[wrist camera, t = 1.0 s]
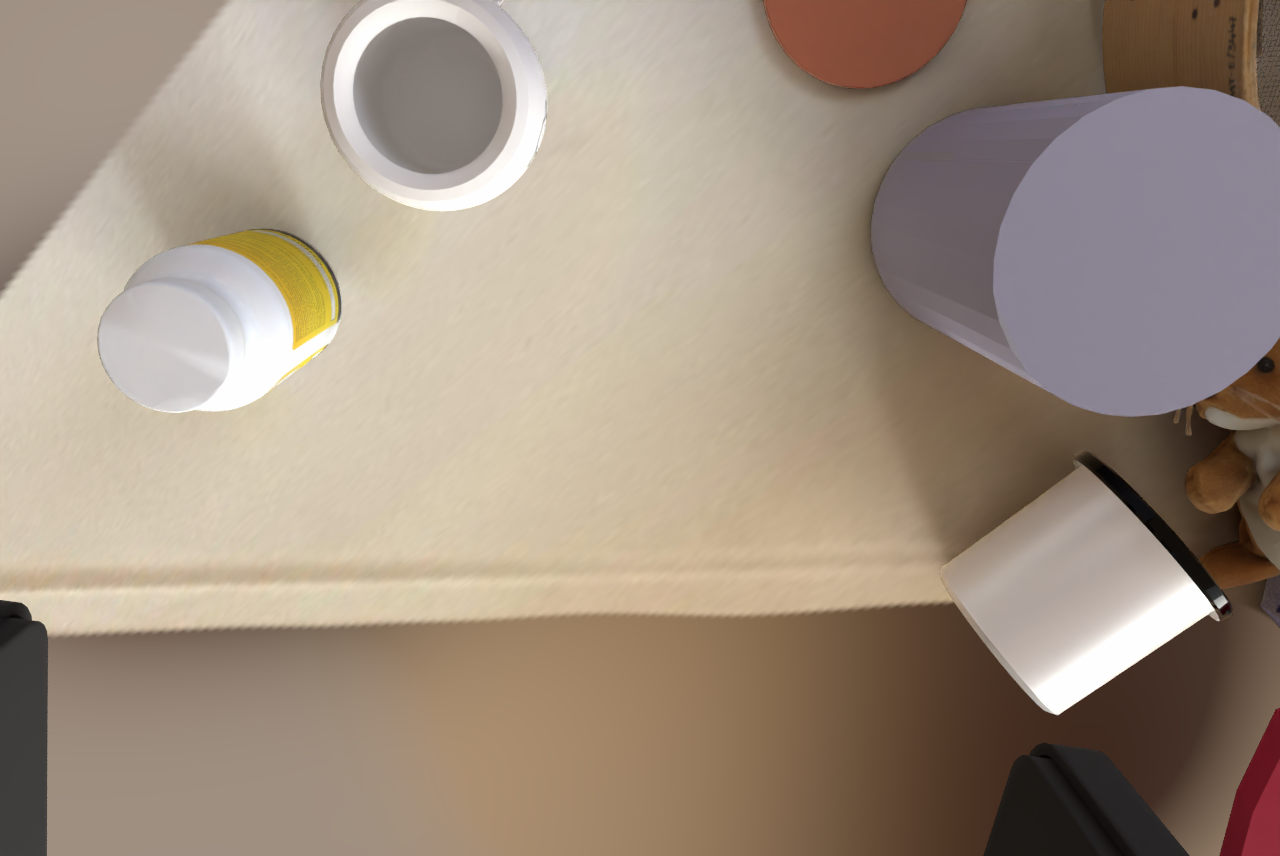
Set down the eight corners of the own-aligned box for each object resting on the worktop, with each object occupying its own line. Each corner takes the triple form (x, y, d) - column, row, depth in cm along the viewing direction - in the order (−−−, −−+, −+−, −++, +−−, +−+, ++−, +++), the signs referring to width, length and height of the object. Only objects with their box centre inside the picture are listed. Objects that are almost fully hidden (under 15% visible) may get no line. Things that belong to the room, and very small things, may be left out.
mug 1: (510, 235, 44) (490, 252, 36) (334, 155, 43) (275, 156, 35) (617, -24, 41) (619, -63, 34) (431, -117, 40) (390, -179, 32)
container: (1081, 86, 43) (1320, 54, 29) (1095, 310, 46) (1317, 384, 31) (855, 131, 43) (978, 123, 29) (882, 352, 46) (1006, 444, 32)
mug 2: (1028, 706, 39) (1221, 576, 37) (903, 537, 46) (1063, 418, 44) (1092, 753, 48) (1252, 649, 46) (980, 606, 54) (1116, 509, 52)
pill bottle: (270, 197, 43) (152, 213, 32) (375, 302, 45) (297, 353, 34) (175, 293, 44) (29, 342, 33) (281, 393, 46) (175, 472, 35)
